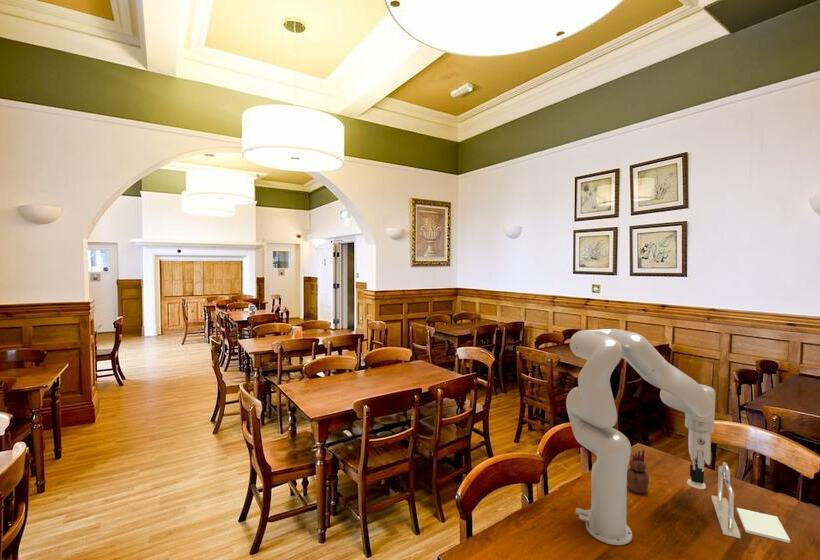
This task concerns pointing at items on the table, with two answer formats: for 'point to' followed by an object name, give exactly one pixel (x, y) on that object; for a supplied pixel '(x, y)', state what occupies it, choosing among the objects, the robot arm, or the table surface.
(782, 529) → the pad
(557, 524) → the table surface
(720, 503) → the silver metal frame stand
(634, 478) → the wooden figurine
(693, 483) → the chess piece
